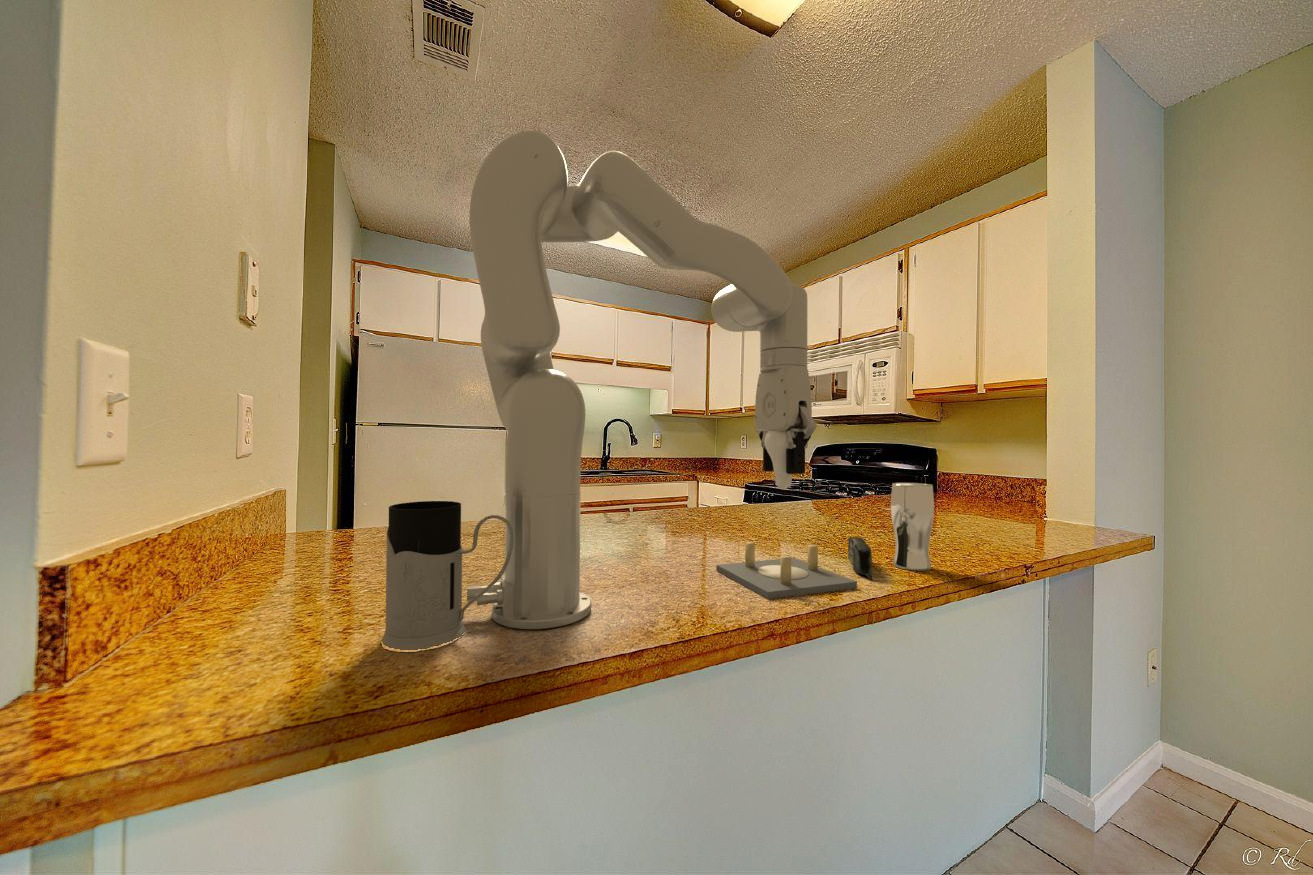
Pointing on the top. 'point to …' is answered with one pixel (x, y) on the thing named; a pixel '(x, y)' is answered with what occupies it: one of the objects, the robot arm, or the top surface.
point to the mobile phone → (860, 556)
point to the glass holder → (427, 574)
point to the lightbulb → (779, 456)
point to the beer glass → (912, 524)
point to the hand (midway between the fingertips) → (783, 471)
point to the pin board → (785, 590)
